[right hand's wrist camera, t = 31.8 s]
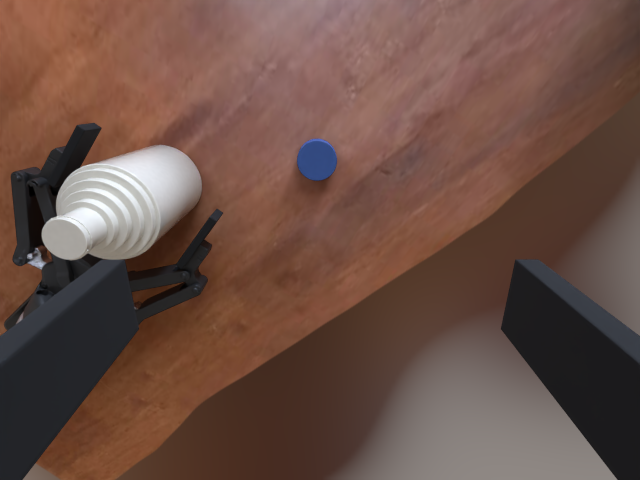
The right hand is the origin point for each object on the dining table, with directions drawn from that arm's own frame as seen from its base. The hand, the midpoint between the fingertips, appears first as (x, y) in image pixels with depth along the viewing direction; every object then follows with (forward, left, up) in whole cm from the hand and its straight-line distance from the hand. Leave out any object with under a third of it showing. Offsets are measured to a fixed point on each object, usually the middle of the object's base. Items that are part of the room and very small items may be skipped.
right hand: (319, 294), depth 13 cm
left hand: (+13, +8, -24) cm, 29 cm away
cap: (0, 0, -29) cm, 29 cm away
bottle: (+13, +11, -30) cm, 35 cm away
